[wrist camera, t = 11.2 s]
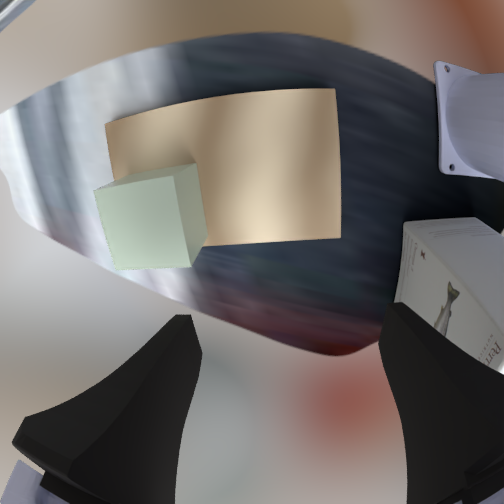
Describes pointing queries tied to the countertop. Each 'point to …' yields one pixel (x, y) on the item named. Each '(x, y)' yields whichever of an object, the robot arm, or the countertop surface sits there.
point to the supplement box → (457, 283)
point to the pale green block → (153, 218)
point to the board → (246, 161)
